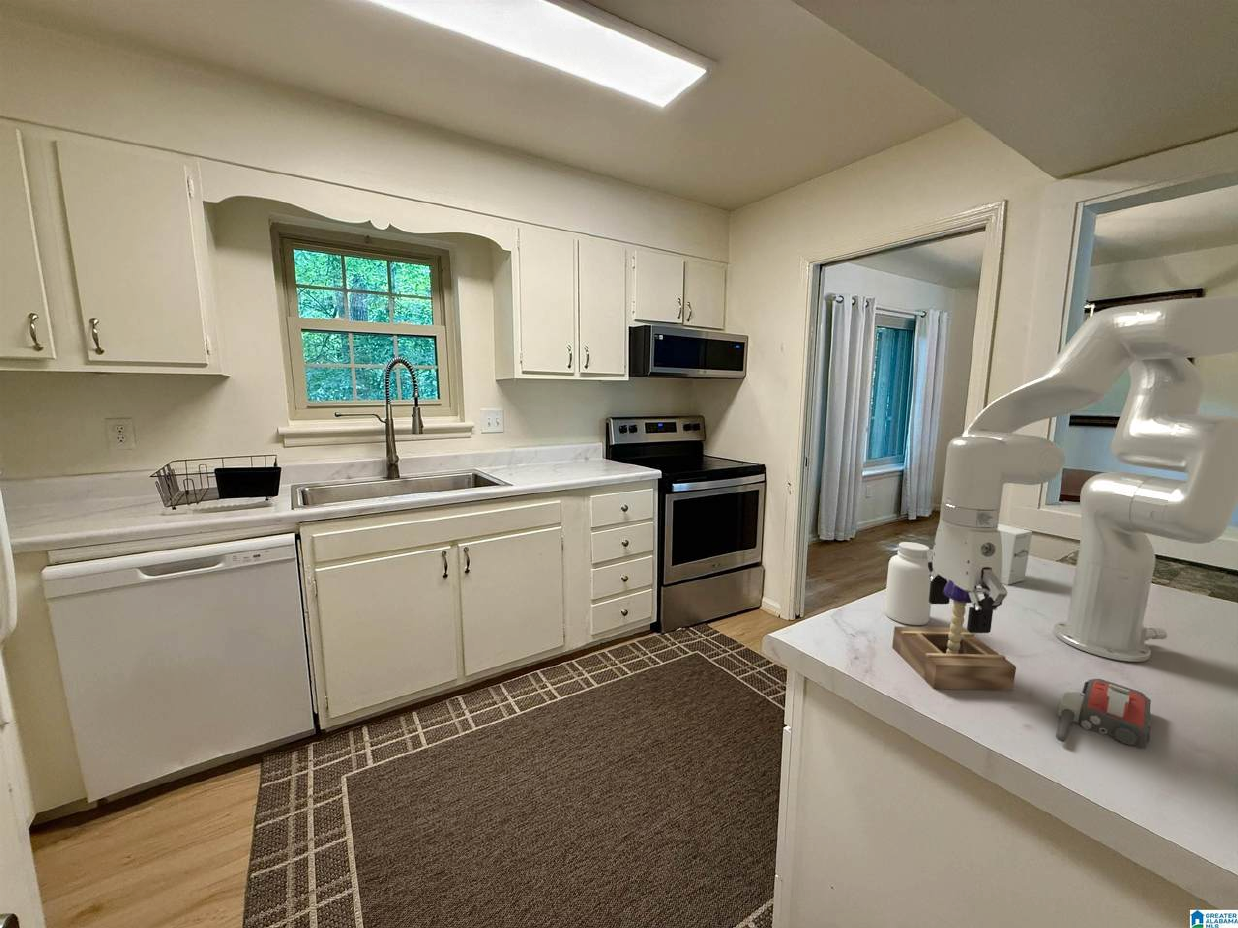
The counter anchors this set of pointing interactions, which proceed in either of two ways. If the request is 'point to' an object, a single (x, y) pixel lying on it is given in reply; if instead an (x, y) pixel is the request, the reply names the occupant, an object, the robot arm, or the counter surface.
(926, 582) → the pill bottle
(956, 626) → the toy lamp
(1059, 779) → the counter surface
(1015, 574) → the supplement box
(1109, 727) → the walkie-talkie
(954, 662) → the tan wooden square frame
